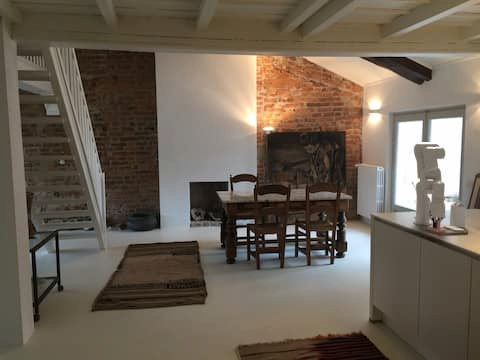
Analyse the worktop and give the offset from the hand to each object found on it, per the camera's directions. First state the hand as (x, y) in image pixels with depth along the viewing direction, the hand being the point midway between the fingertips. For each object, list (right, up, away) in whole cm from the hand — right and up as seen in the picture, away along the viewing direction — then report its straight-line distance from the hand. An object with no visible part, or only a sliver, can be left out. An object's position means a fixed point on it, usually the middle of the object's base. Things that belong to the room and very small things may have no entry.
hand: (436, 227), depth 273 cm
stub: (0, -2, 0) cm, 2 cm away
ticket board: (+8, -3, +2) cm, 9 cm away
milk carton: (+24, -2, +19) cm, 30 cm away
